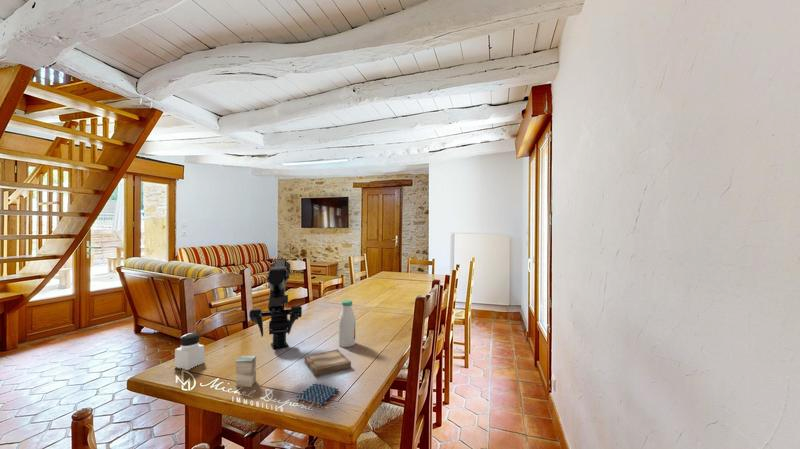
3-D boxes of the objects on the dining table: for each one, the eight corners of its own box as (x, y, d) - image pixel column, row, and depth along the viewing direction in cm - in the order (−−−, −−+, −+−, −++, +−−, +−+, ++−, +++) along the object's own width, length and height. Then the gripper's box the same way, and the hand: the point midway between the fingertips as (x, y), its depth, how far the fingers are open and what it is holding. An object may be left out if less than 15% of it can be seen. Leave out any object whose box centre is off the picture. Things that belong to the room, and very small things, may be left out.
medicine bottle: (204, 362, 127) (205, 332, 127) (187, 370, 120) (187, 339, 120) (191, 359, 129) (191, 330, 129) (174, 367, 123) (174, 336, 122)
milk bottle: (351, 348, 143) (352, 304, 142) (335, 346, 144) (336, 302, 144) (357, 341, 150) (357, 299, 150) (342, 340, 152) (342, 298, 152)
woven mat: (322, 410, 97) (322, 404, 97) (294, 403, 101) (294, 396, 101) (341, 393, 106) (341, 387, 106) (315, 387, 110) (315, 381, 110)
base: (304, 362, 128) (304, 356, 128) (337, 355, 135) (337, 348, 135) (315, 377, 116) (315, 370, 116) (350, 368, 124) (350, 361, 124)
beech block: (241, 381, 113) (241, 355, 113) (256, 380, 113) (256, 355, 113) (235, 387, 109) (236, 361, 109) (251, 386, 109) (251, 360, 109)
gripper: (249, 289, 119) (245, 330, 110) (301, 286, 124) (302, 325, 116) (252, 301, 127) (249, 340, 118) (301, 298, 133) (301, 335, 124)
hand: (275, 335), depth 119 cm, fingers open, 9 cm apart
